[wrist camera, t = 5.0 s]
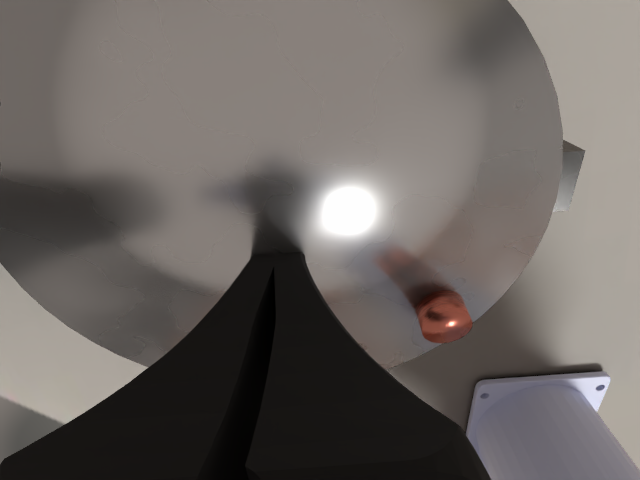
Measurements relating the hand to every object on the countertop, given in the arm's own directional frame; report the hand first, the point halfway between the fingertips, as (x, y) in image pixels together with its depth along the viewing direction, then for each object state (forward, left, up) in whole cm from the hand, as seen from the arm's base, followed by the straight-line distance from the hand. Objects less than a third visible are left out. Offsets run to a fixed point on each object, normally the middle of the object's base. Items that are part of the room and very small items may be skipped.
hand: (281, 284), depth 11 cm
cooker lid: (+2, 0, -1) cm, 3 cm away
